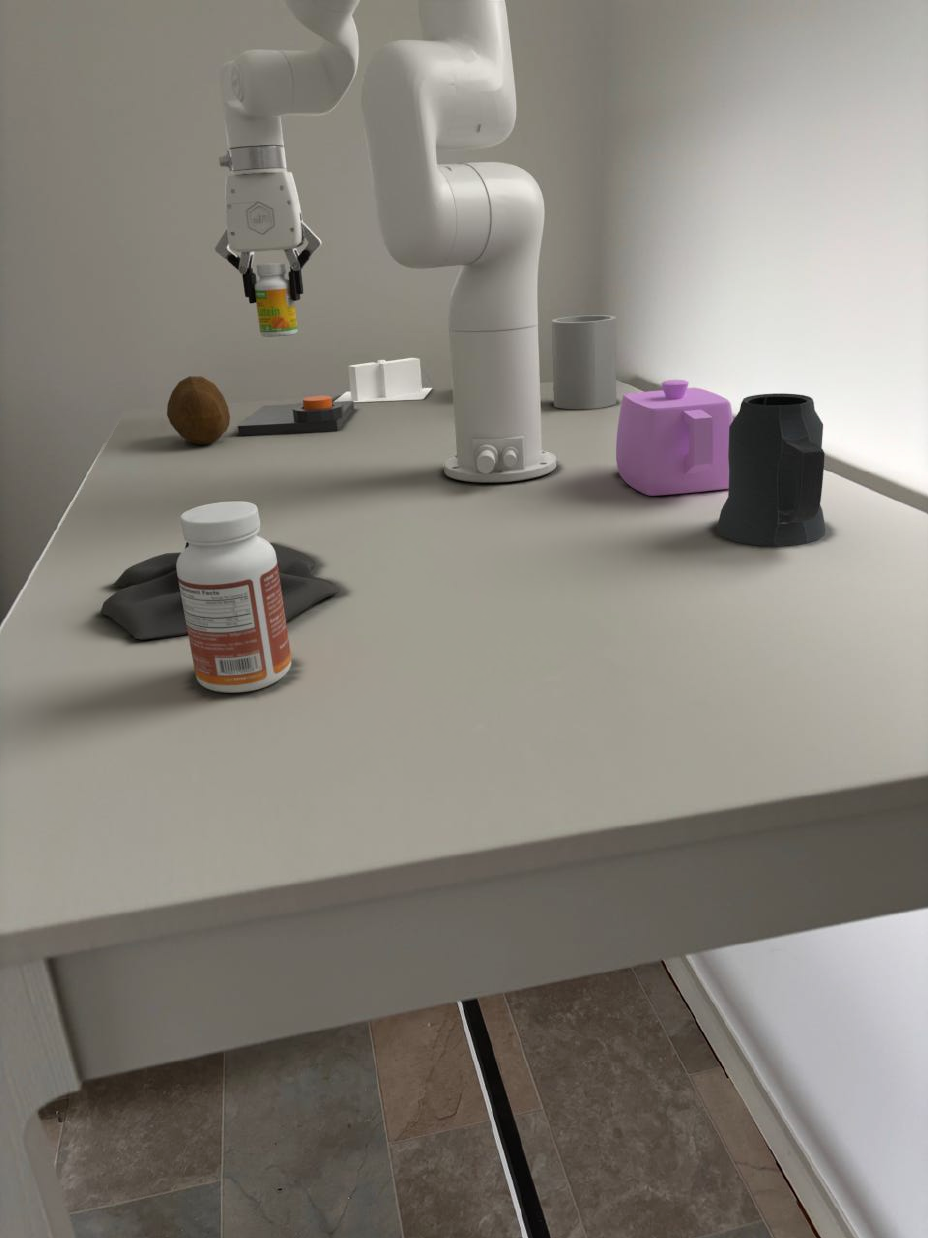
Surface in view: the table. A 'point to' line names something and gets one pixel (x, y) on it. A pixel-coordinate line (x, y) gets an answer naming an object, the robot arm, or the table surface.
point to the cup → (584, 361)
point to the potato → (198, 410)
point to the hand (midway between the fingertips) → (275, 299)
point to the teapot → (674, 440)
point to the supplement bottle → (274, 301)
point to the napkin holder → (385, 381)
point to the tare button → (317, 402)
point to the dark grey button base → (296, 419)
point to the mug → (774, 472)
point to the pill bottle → (232, 599)
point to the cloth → (159, 601)
